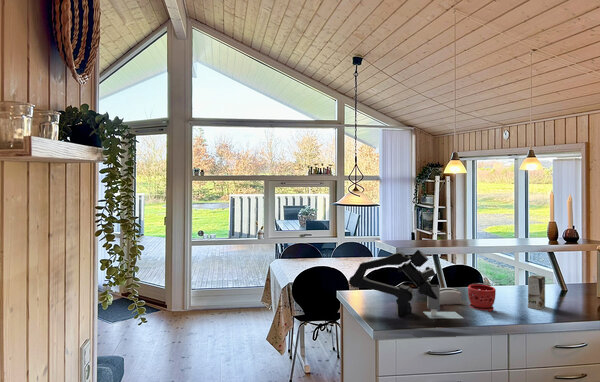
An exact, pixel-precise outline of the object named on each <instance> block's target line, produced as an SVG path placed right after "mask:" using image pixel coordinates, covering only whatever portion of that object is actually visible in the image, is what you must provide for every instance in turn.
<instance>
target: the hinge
mask: <svg viewBox="0 0 600 382" xmlns="http://www.w3.org/2000/svg"><path fill="white" fill-rule="evenodd" d="M461 299H462V293H461V291H459V290H458V289H456V288H453V287H442V288H441V287H440V298H439V305H445V304H446V305H461V303H462V301H461Z"/></svg>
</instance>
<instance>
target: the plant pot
mask: <svg viewBox="0 0 600 382" xmlns="http://www.w3.org/2000/svg"><path fill="white" fill-rule="evenodd" d="M496 290H497V289H496V288H495V287H494V286H490V285H486V284H469V285H468V287H467V296H468V300H469V307H470V308H472V309H473V310H479V311H487V312H488V313H490V312H491V313H492V311H494V304H495V300H496V295H497V293H496Z"/></svg>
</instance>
